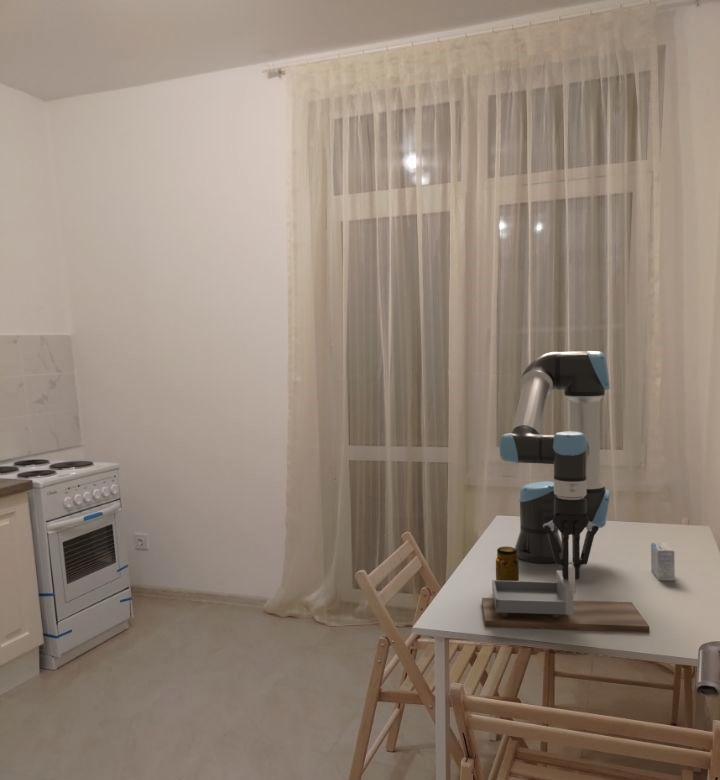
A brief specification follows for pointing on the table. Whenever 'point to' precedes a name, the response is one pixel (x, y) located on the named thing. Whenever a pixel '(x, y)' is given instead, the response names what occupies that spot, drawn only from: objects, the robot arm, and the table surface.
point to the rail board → (573, 617)
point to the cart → (534, 597)
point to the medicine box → (662, 561)
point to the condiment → (507, 564)
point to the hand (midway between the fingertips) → (570, 591)
